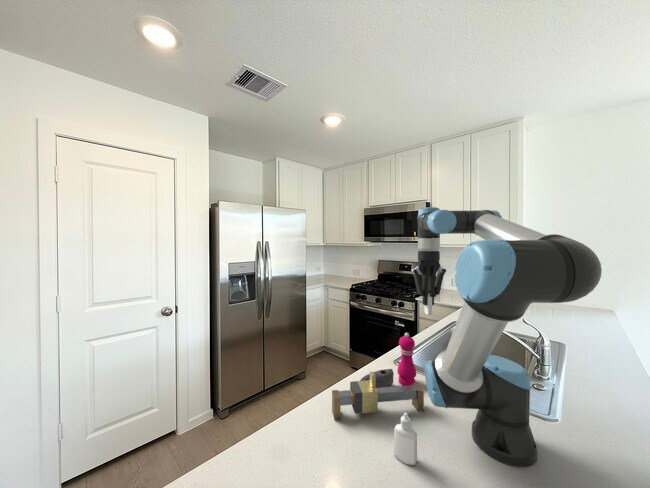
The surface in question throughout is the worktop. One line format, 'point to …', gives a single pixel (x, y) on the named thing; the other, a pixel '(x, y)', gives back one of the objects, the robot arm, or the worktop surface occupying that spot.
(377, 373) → the perforated stone tool
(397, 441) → the eye dropper bottle
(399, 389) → the bar clamp
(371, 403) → the sleeve
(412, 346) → the pepper mill
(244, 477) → the worktop surface
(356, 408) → the ring
